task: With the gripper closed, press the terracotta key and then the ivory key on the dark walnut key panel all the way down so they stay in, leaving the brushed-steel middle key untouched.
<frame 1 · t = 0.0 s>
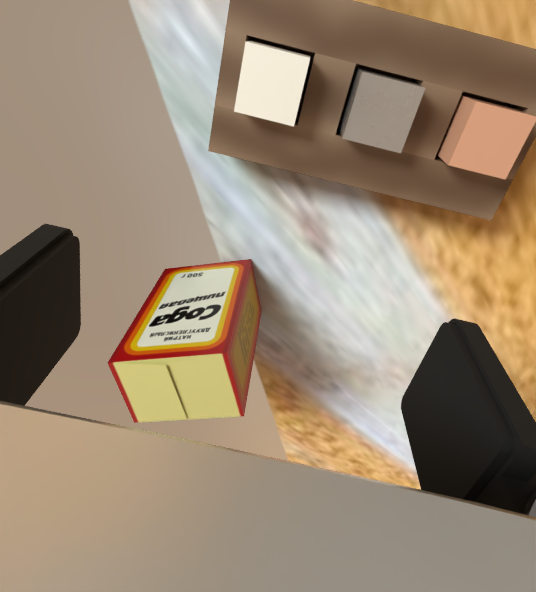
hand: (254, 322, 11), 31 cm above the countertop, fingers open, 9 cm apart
steel key: (378, 110, 32), point 5 cm above the countertop, slide at 0.0 cm
key panel: (369, 100, 36), on the countertop
terracotta key: (481, 136, 32), point 5 cm above the countertop, slide at 0.0 cm
ivory key: (272, 83, 31), point 5 cm above the countertop, slide at 0.0 cm
baking soda box: (214, 289, 48), on the countertop
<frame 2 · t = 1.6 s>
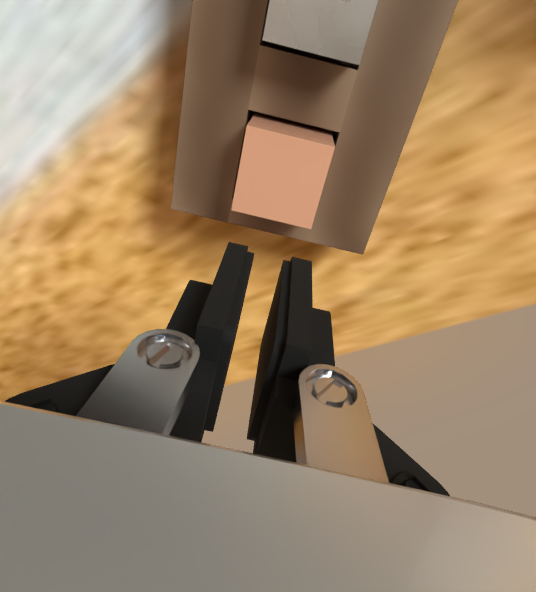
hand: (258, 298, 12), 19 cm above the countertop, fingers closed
key panel: (320, 4, 24), on the countertop
terracotta key: (282, 169, 24), point 5 cm above the countertop, slide at 0.0 cm
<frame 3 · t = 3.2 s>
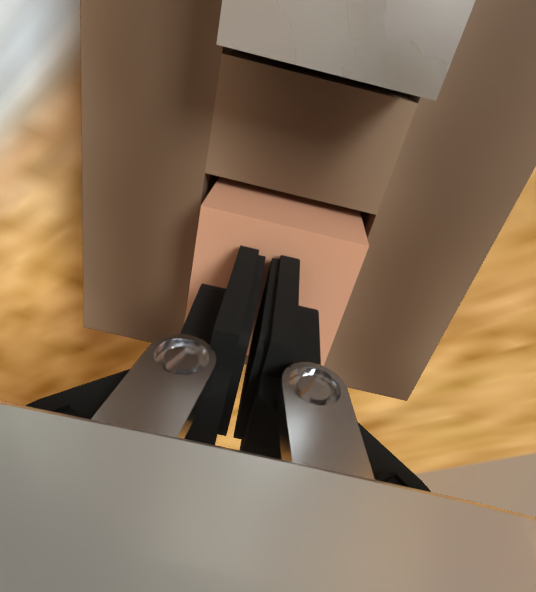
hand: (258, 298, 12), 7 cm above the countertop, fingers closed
terracotta key: (272, 264, 14), point 5 cm above the countertop, slide at 0.8 cm, touching gripper
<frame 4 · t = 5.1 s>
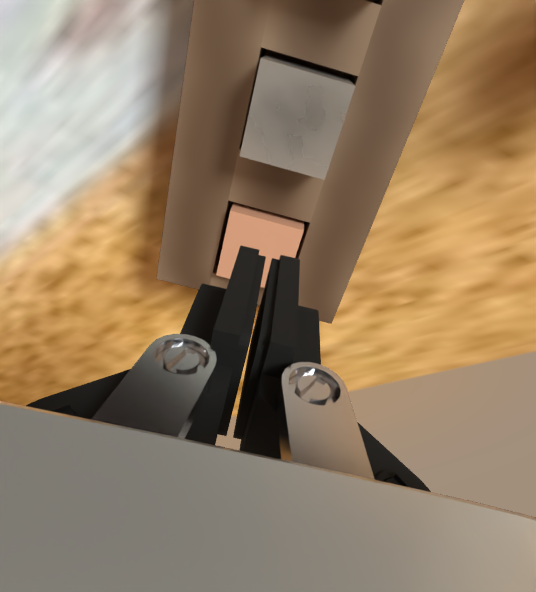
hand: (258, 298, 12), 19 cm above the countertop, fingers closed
steel key: (295, 116, 22), point 5 cm above the countertop, slide at 0.0 cm
key panel: (297, 101, 27), on the countertop
terracotta key: (261, 240, 28), point 4 cm above the countertop, slide at 1.8 cm
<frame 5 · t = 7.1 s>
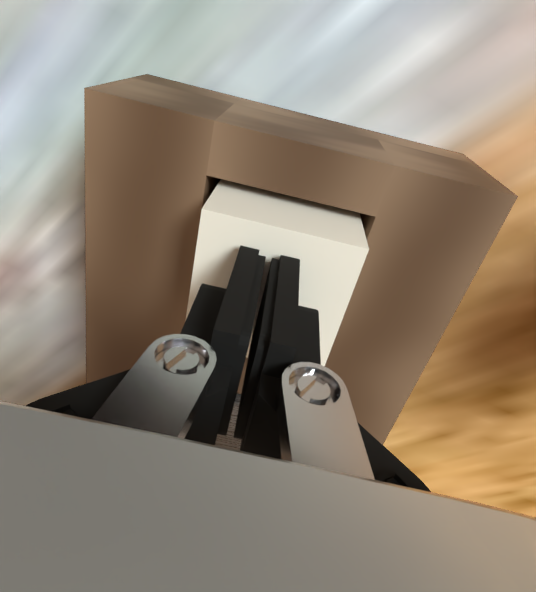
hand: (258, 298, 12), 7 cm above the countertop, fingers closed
steel key: (227, 446, 17), point 5 cm above the countertop, slide at 0.0 cm
key panel: (245, 359, 22), on the countertop
ivory key: (273, 267, 14), point 5 cm above the countertop, slide at 0.7 cm, touching gripper
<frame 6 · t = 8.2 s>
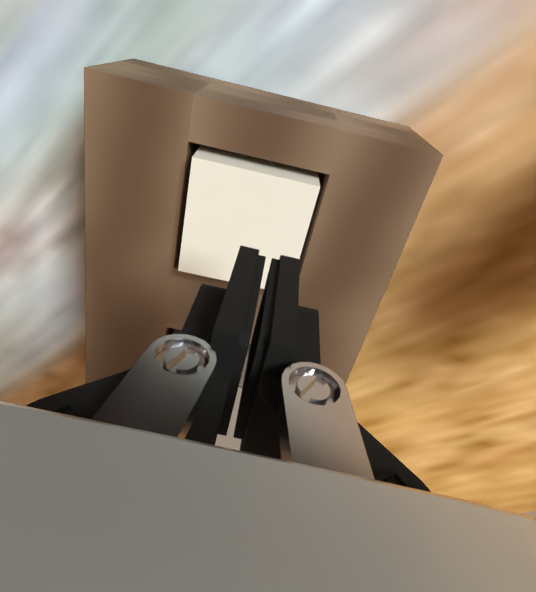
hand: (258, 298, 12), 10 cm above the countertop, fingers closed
steel key: (212, 387, 20), point 5 cm above the countertop, slide at 0.0 cm
key panel: (227, 319, 25), on the countertop
ivory key: (249, 211, 17), point 4 cm above the countertop, slide at 1.9 cm
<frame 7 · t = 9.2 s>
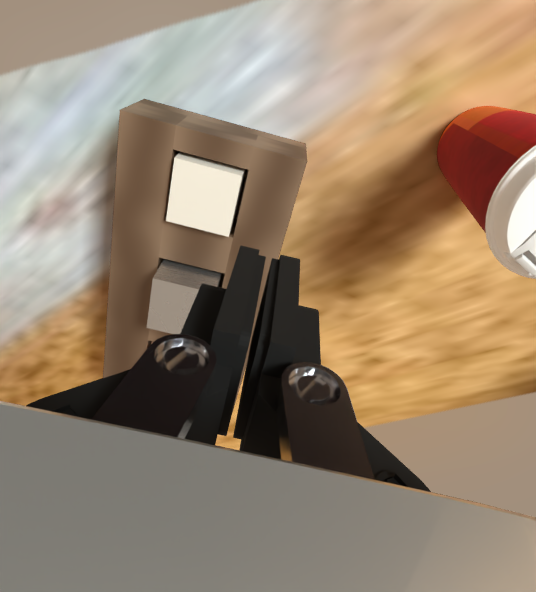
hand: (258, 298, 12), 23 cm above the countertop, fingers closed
steel key: (185, 296, 33), point 5 cm above the countertop, slide at 0.0 cm
key panel: (199, 263, 38), on the countertop
ivory key: (208, 189, 30), point 4 cm above the countertop, slide at 1.9 cm
paper cup: (475, 145, 31), on the countertop
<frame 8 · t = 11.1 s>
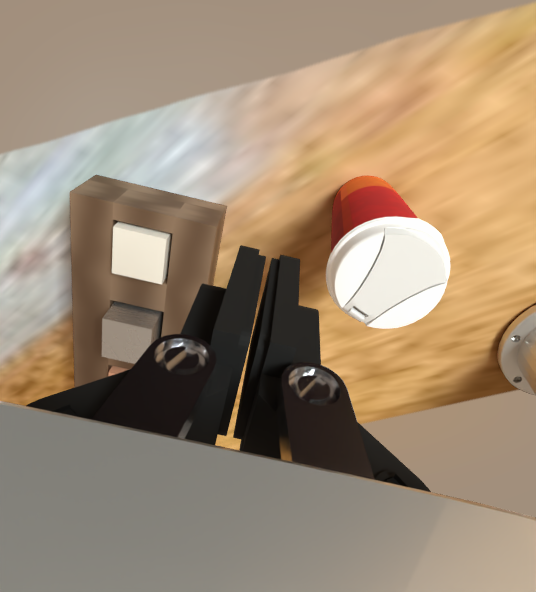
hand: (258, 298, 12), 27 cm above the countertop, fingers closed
steel key: (133, 330, 40), point 5 cm above the countertop, slide at 0.0 cm
key panel: (151, 299, 45), on the countertop
terracotta key: (135, 379, 46), point 4 cm above the countertop, slide at 1.8 cm
ivory key: (145, 246, 38), point 4 cm above the countertop, slide at 1.9 cm
paper cup: (364, 205, 38), on the countertop
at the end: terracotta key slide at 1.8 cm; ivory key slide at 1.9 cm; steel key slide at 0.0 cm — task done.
